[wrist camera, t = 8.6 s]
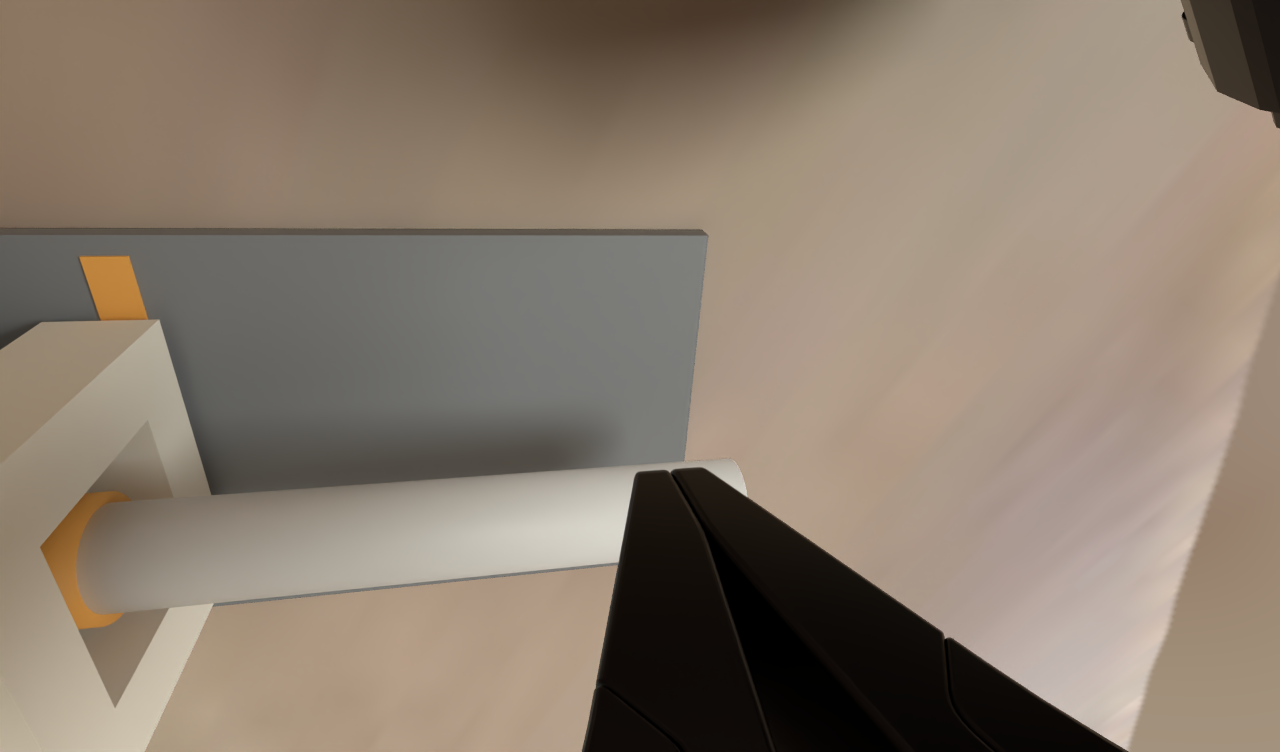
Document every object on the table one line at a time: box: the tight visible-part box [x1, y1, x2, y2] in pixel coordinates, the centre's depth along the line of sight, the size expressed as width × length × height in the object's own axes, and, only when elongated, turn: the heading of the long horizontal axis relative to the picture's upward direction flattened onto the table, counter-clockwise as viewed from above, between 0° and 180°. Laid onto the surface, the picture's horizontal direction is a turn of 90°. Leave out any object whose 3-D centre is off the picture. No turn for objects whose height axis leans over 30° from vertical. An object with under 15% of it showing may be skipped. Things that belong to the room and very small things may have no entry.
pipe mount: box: [0, 228, 747, 629], centre depth 16 cm, size 24×12×8 cm, turn 86°
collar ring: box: [0, 319, 214, 752], centre depth 15 cm, size 2×8×8 cm, turn 177°
